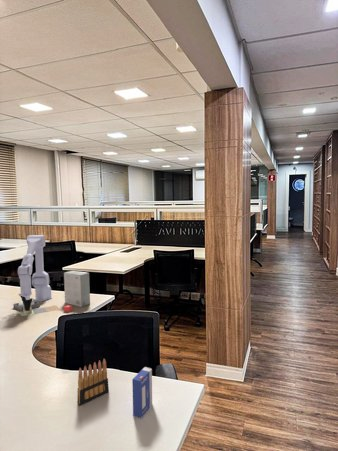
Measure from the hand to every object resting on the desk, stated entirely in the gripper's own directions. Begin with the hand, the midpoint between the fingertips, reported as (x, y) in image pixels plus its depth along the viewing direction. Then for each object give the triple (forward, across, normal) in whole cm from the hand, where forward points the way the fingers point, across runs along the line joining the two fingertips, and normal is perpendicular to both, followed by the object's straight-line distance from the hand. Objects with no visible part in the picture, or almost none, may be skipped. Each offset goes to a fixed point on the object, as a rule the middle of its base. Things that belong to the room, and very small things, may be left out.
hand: (26, 308), depth 188 cm
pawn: (+2, 0, 0) cm, 2 cm away
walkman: (+3, +113, +20) cm, 115 cm away
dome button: (+2, -11, +1) cm, 11 cm away
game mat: (+3, 0, +7) cm, 7 cm away
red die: (+3, +10, +21) cm, 23 cm away
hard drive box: (+3, -2, +30) cm, 30 cm away
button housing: (+3, -11, +1) cm, 11 cm away
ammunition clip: (+3, +99, +9) cm, 100 cm away
